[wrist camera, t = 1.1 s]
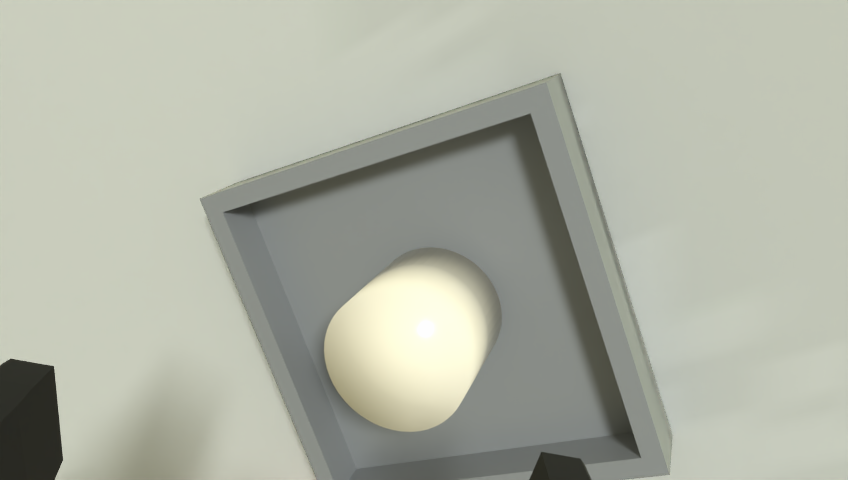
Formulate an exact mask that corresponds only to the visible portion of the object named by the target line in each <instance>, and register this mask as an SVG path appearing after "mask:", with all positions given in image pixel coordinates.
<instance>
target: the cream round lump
mask: <svg viewBox="0 0 848 480" xmlns="http://www.w3.org/2000/svg"><path fill="white" fill-rule="evenodd" d="M501 324H502V311H501V304H500V301H499V297H498V294H497V292H496V290H495V288H494V286H493V284H492V282H491V281H490V279H489V278H488V277H487V275H486V274H485V273H484V272H483V271H482V270H481V269H480V268H479V267H478V266H477V265H476V264H475V263H473V262H472V261H471V260H469V259H467V258H466V257H464V256H462V255H460V254H458V253H456V252H453V251H450V250H447V249H442V248H433V247H428V248H419V249H414V250H411V251H408V252H406V253H404V254H402V255H400V256H399V257H398V258H396V259H395V260H394V261H392V262H391V263H390V264H389V265H388V266H387V267H386V268H385V269H384V270H382V271H381V272H380V273H379V274H378V275H377V276H376V277H375V278H373V279H372V280H371V281H370V282H369V283H368V284H367V285H366V286H365V287H363V288H362V289H361V290H360V291H359V292H358V293H357V294H356V295H354V296H353V297H352V298H351V299H350V300H349V301H348V302H347V303H346V304H344V305H343V306H342V307H341V308H340V309H339V310H338V311H337V313H336V314H335V315H334V317H333V318H332V320H331V322H330V324H329V326H328V329H327V332H326V336H325V341H324V356H325V362H326V367H327V370H328V373H329V376H330V378H331V380H332V383H333V385H334V386H335V388H336V390H337V391H338V393H339V394H340V396H341V397H342V398H343V399H344V401H345V402H346V403H347V404H348V405H349V406H350V407H351V408H352V409H353V410H355V411H356V412H357V413H358V414H359V415H361V416H362V417H364V418H365V419H367V420H369V421H370V422H372V423H374V424H376V425H379V426H381V427H384V428H387V429H391V430H395V431H401V432H416V431H423V430H427V429H430V428H433V427H435V426H437V425H439V424H441V423H443V422H444V421H445V420H447V419H448V418H449V417H450V416H451V415H452V414H453V413H454V412H455V411H456V410H457V408H458V407H459V405H460V404H461V402H462V400H463V398H464V397H465V395H466V393H467V392H468V390H469V388H470V386H471V385H472V383H473V381H474V380H475V378H476V376H477V374H478V373H479V371H480V369H481V368H482V366H483V364H484V362H485V361H486V359H487V357H488V355H489V354H490V352H491V350H492V349H493V347H494V345H495V343H496V341H497V339H498V337H499V333H500V330H501Z"/></svg>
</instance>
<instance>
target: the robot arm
mask: <svg viewBox="0 0 848 480" xmlns="http://www.w3.org/2000/svg"><path fill="white" fill-rule="evenodd" d="M62 461H63V456H62V445H61V435H60V425H59V414H58V404H57V393H56V383H55V373H54V366H49V365H43V364H37V363H32V362H26V361H20V360H15V359H10V360H8V361H6V362H5V363H3V364H2V365H0V480H55V477H56V475H57V473H58V470H59V468H60V465H61V463H62ZM529 480H592V479H591V477H590V475H589V473H588V471H587V468H586V466H585V464H584V463H583V461H582V460H581V459H580V458H574V457H569V456H563V455H557V454H552V453H546V452H541V454H540V456H539V458H538V461H537V463H536V465H535V467H534V470H533V472H532V474H531V477H530V479H529Z"/></svg>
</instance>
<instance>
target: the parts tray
mask: <svg viewBox="0 0 848 480" xmlns="http://www.w3.org/2000/svg"><path fill="white" fill-rule="evenodd" d="M200 201H201V203H202V206H203V208H204V210H205V213H206V215H207V218H208V220H209V222H210V225H211V227H212V229H213V232H214V234H215V237H216V239H217V241H218V244H219V246H220V249H221V251H222V253H223V256H224V258H225V261H226V263H227V265H228V268H229V270H230V273H231V275H232V277H233V280H234V282H235V285H236V287H237V289H238V292H239V294H240V296H241V299H242V301H243V304H244V306H245V308H246V311H247V313H248V316H249V318H250V320H251V323H252V325H253V328H254V330H255V332H256V335H257V337H258V340H259V342H260V344H261V347H262V349H263V352H264V354H265V356H266V359H267V361H268V364H269V366H270V368H271V371H272V373H273V375H274V378H275V380H276V383H277V385H278V387H279V390H280V392H281V395H282V397H283V399H284V402H285V404H286V407H287V409H288V411H289V414H290V416H291V419H292V421H293V423H294V426H295V428H296V431H297V433H298V435H299V438H300V440H301V442H302V445H303V447H304V450H305V452H306V454H307V457H308V459H309V462H310V464H311V466H312V469H313V471H314V474H315V476H316V478H317V480H529V479H530V477H531V474H532V472H533V470H534V467H535V465H536V463H537V461H538V458H539V456H540V454H541V452H546V453H552V454H557V455H563V456H569V457H574V458H580V459H581V460H582V461H583V463H584V464H585V466H586V468H587V471H588V473H589V475H590V477H591V479H592V480H625V479H634V478H644V477H653V476H662V475H670V463H671V449H672V432H671V429H670V425H669V422H668V419H667V416H666V413H665V409H664V406H663V403H662V400H661V396H660V393H659V390H658V387H657V383H656V380H655V377H654V374H653V371H652V367H651V364H650V361H649V358H648V354H647V351H646V348H645V345H644V342H643V338H642V335H641V332H640V329H639V325H638V322H637V319H636V316H635V313H634V309H633V306H632V303H631V300H630V296H629V293H628V290H627V287H626V283H625V280H624V277H623V274H622V271H621V267H620V264H619V261H618V258H617V254H616V251H615V248H614V245H613V242H612V238H611V235H610V232H609V229H608V225H607V222H606V219H605V216H604V213H603V209H602V206H601V203H600V200H599V196H598V193H597V190H596V187H595V183H594V180H593V177H592V174H591V171H590V167H589V164H588V161H587V158H586V154H585V151H584V148H583V145H582V142H581V138H580V135H579V132H578V129H577V125H576V122H575V119H574V116H573V113H572V109H571V106H570V103H569V100H568V96H567V93H566V90H565V87H564V83H563V80H562V77H561V74H557V75H554V76H551V77H548V78H545V79H542V80H539V81H536V82H533V83H530V84H527V85H524V86H521V87H518V88H515V89H512V90H509V91H506V92H503V93H501V94H498V95H495V96H492V97H489V98H486V99H483V100H480V101H477V102H474V103H471V104H468V105H465V106H462V107H459V108H456V109H453V110H450V111H447V112H444V113H441V114H439V115H436V116H433V117H430V118H427V119H424V120H421V121H418V122H415V123H412V124H409V125H406V126H403V127H400V128H397V129H394V130H391V131H388V132H385V133H382V134H379V135H377V136H374V137H371V138H368V139H365V140H362V141H359V142H356V143H353V144H350V145H347V146H344V147H341V148H338V149H335V150H332V151H329V152H326V153H323V154H320V155H318V156H315V157H312V158H309V159H306V160H303V161H300V162H297V163H294V164H291V165H288V166H285V167H282V168H279V169H276V170H273V171H270V172H267V173H264V174H261V175H258V176H256V177H253V178H250V179H247V180H244V181H241V182H238V183H235V184H233V185H231V186H228V187H226V188H224V189H221V190H219V191H217V192H214V193H212V194H210V195H207V196H205V197H203V198H200ZM428 247H433V248H442V249H447V250H450V251H453V252H456V253H458V254H460V255H462V256H464V257H466V258H467V259H469V260H471V261H472V262H473V263H475V264H476V265H477V266H478V267H479V268H480V269H481V270H482V271H483V272H484V273H485V274H486V275H487V277H488V278H489V279H490V281H491V282H492V284H493V286H494V288H495V290H496V292H497V294H498V297H499V301H500V304H501V311H502V324H501V330H500V333H499V337H498V339H497V341H496V343H495V345H494V347H493V349H492V350H491V352H490V354H489V355H488V357H487V359H486V361H485V362H484V364H483V366H482V368H481V369H480V371H479V373H478V374H477V376H476V378H475V380H474V381H473V383H472V385H471V386H470V388H469V390H468V392H467V393H466V395H465V397H464V398H463V400H462V402H461V404H460V405H459V407H458V408H457V410H456V411H455V412H454V413H453V414H452V415H451V416H450V417H449V418H448V419H447V420H445V421H444V422H443V423H441V424H439V425H437V426H435V427H433V428H430V429H427V430H423V431H416V432H401V431H395V430H391V429H387V428H384V427H381V426H379V425H376V424H374V423H372V422H370V421H369V420H367V419H365V418H364V417H362V416H361V415H359V414H358V413H357V412H356V411H355V410H353V409H352V408H351V407H350V406H349V405H348V404H347V403H346V402H345V401H344V399H343V398H342V397H341V396H340V394H339V393H338V391H337V390H336V388H335V386H334V385H333V383H332V380H331V378H330V376H329V373H328V370H327V367H326V362H325V356H324V341H325V336H326V332H327V329H328V326H329V324H330V322H331V320H332V318H333V317H334V315H335V314H336V313H337V311H338V310H339V309H340V308H341V307H342V306H343V305H344V304H346V303H347V302H348V301H349V300H350V299H351V298H352V297H353V296H354V295H356V294H357V293H358V292H359V291H360V290H361V289H362V288H363V287H365V286H366V285H367V284H368V283H369V282H370V281H371V280H372V279H373V278H375V277H376V276H377V275H378V274H379V273H380V272H381V271H382V270H384V269H385V268H386V267H387V266H388V265H389V264H390V263H391V262H392V261H394V260H395V259H396V258H398V257H399V256H400V255H402V254H404V253H406V252H408V251H411V250H414V249H419V248H428Z"/></svg>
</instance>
